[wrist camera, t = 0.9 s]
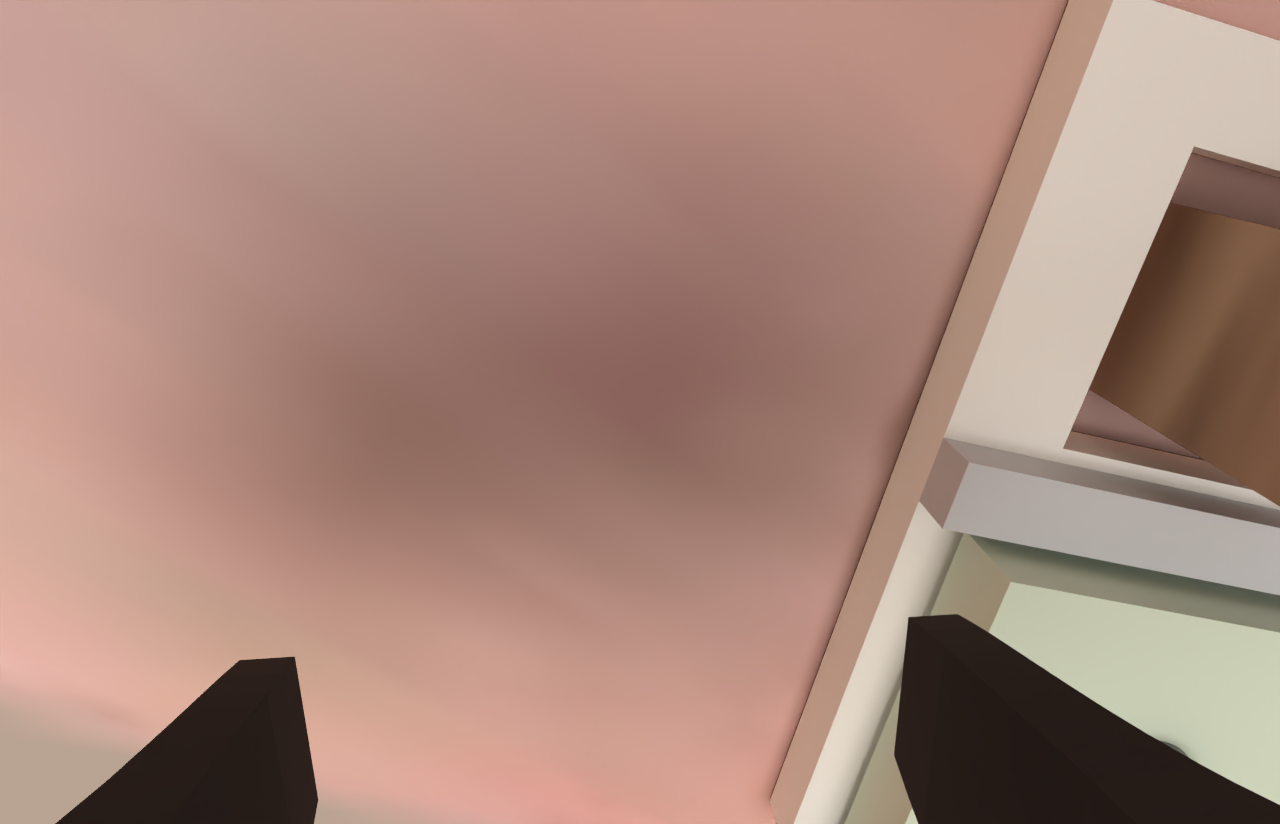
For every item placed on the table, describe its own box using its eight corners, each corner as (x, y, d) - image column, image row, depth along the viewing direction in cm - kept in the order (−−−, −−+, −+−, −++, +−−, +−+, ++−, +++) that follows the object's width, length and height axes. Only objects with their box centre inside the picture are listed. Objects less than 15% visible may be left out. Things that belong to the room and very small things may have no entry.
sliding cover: (1340, 603, 21) (1465, 690, 18) (1180, 882, 23) (1268, 995, 20) (965, 529, 19) (1037, 612, 16) (838, 837, 22) (882, 953, 19)
